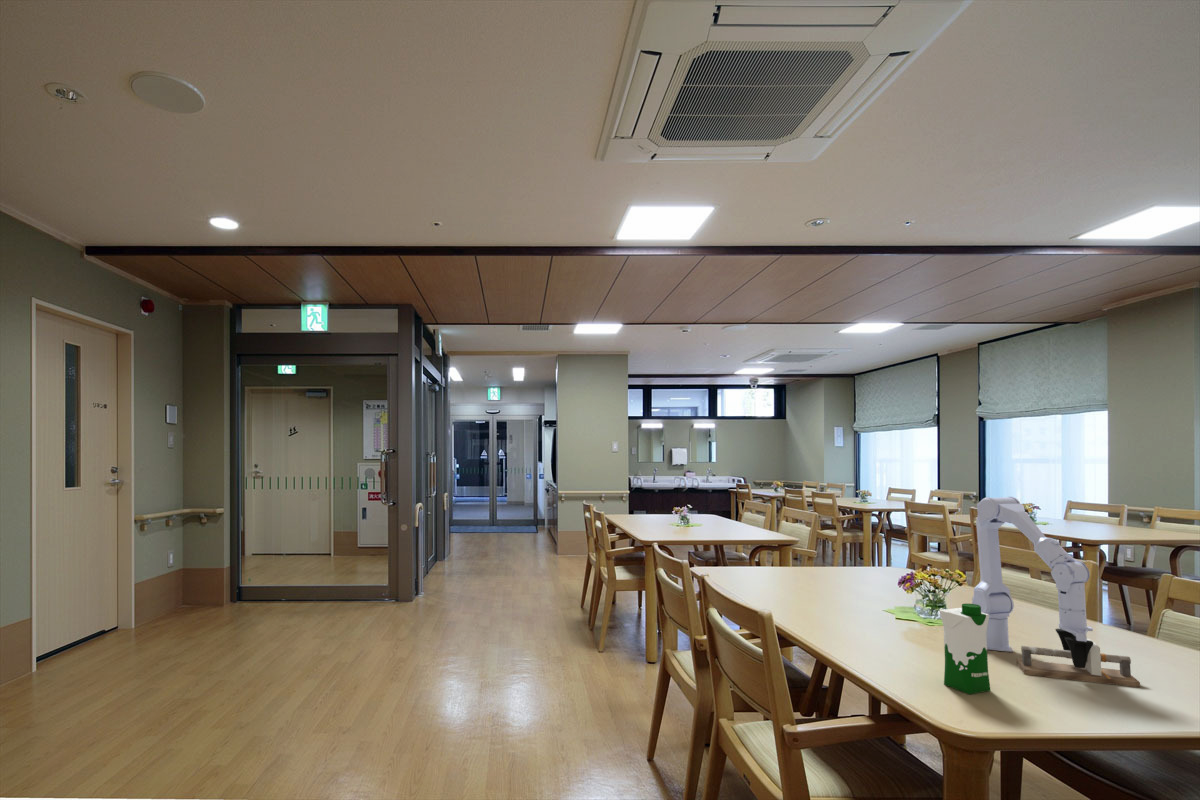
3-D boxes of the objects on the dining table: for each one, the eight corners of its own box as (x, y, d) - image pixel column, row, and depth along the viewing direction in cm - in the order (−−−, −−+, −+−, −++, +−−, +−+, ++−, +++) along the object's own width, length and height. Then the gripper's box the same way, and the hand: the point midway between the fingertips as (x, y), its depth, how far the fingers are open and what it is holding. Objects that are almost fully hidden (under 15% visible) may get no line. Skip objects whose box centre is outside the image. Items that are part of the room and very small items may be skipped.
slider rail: (1024, 674, 167) (1023, 650, 167) (1016, 663, 175) (1015, 640, 175) (1140, 687, 157) (1138, 662, 158) (1126, 675, 166) (1125, 651, 166)
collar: (1091, 674, 162) (1090, 646, 162) (1082, 664, 169) (1080, 638, 170) (1101, 675, 161) (1099, 647, 161) (1091, 665, 168) (1089, 639, 169)
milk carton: (970, 696, 151) (966, 609, 153) (937, 683, 160) (934, 600, 161) (996, 691, 155) (993, 606, 156) (963, 679, 163) (960, 598, 164)
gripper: (1100, 616, 159) (1103, 673, 158) (1082, 604, 173) (1085, 656, 171) (1065, 614, 162) (1068, 669, 161) (1050, 601, 175) (1053, 653, 174)
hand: (1075, 662), depth 166 cm, fingers open, 7 cm apart
